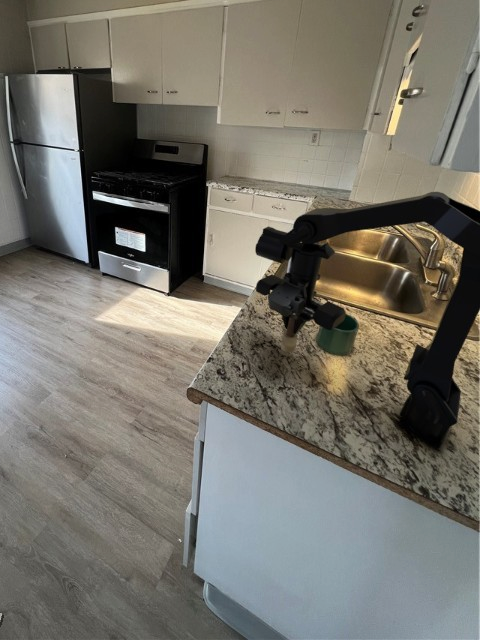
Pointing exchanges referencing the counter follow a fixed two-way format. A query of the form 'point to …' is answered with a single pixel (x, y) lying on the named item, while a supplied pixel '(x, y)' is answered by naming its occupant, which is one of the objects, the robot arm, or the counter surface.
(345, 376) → the counter surface
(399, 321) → the counter surface
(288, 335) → the brush
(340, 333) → the green plastic cup
